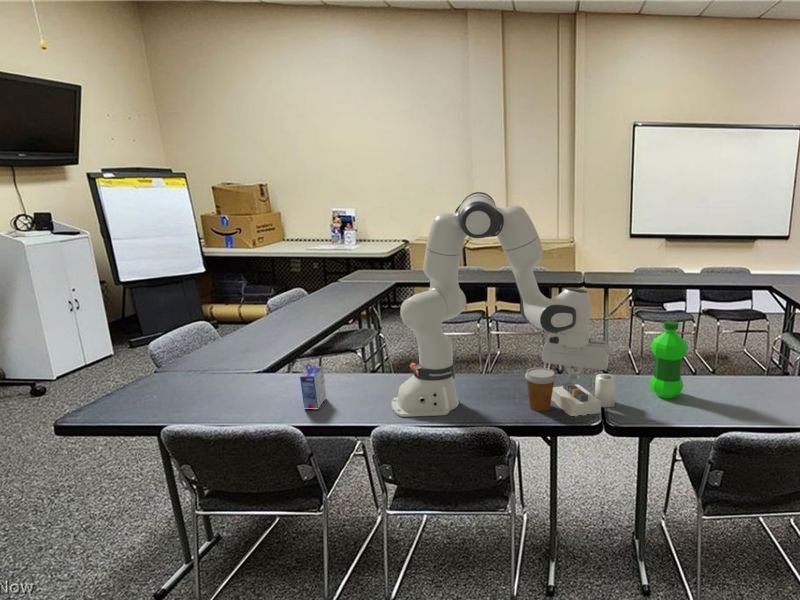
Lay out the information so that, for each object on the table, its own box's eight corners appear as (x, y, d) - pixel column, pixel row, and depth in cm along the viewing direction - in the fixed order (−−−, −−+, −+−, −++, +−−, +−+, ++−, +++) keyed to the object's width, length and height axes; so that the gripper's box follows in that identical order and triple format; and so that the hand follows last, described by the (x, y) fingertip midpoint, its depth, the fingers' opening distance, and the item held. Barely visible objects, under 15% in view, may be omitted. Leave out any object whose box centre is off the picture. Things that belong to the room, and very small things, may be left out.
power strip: (570, 417, 159) (571, 398, 158) (539, 389, 180) (539, 373, 179) (600, 413, 161) (601, 395, 159) (566, 386, 182) (566, 370, 181)
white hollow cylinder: (601, 408, 164) (602, 381, 162) (591, 400, 170) (592, 374, 168) (618, 406, 165) (619, 379, 163) (607, 398, 171) (609, 372, 169)
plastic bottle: (673, 388, 176) (678, 317, 170) (689, 401, 166) (695, 326, 160) (643, 389, 176) (647, 318, 171) (657, 402, 166) (662, 327, 160)
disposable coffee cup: (552, 401, 171) (552, 366, 168) (557, 413, 162) (558, 377, 159) (522, 401, 172) (523, 367, 169) (526, 413, 163) (527, 378, 160)
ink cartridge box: (311, 398, 183) (308, 359, 179) (326, 398, 182) (323, 359, 179) (302, 410, 173) (298, 369, 170) (318, 410, 172) (314, 370, 169)
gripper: (611, 338, 162) (609, 379, 166) (545, 332, 172) (544, 371, 175) (608, 344, 157) (606, 386, 160) (540, 337, 167) (540, 377, 170)
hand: (573, 378), depth 168 cm, fingers closed
